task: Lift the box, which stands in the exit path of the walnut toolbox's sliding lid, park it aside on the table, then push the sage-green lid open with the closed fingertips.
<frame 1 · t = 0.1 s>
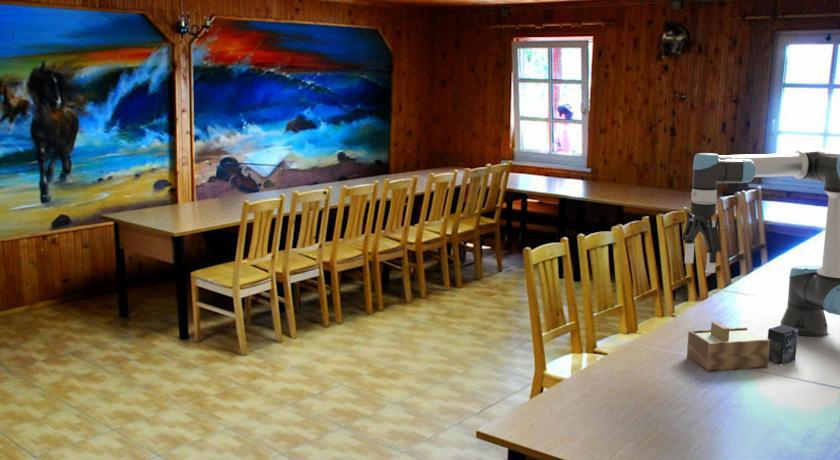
hand: (699, 267, 260), 28 cm above the table, fingers open, 13 cm apart
box: (780, 361, 256), on the table
lid: (729, 332, 252), point 10 cm above the table, slide at 0.0 cm
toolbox: (726, 362, 254), on the table
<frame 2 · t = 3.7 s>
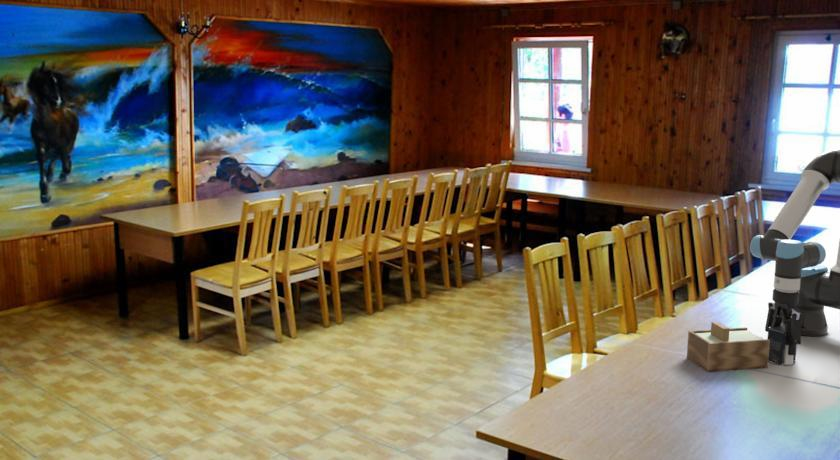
hand: (780, 359, 256), 0 cm above the table, fingers closed on box, 7 cm apart
box: (780, 361, 256), on the table, touching gripper
everything else where it was.
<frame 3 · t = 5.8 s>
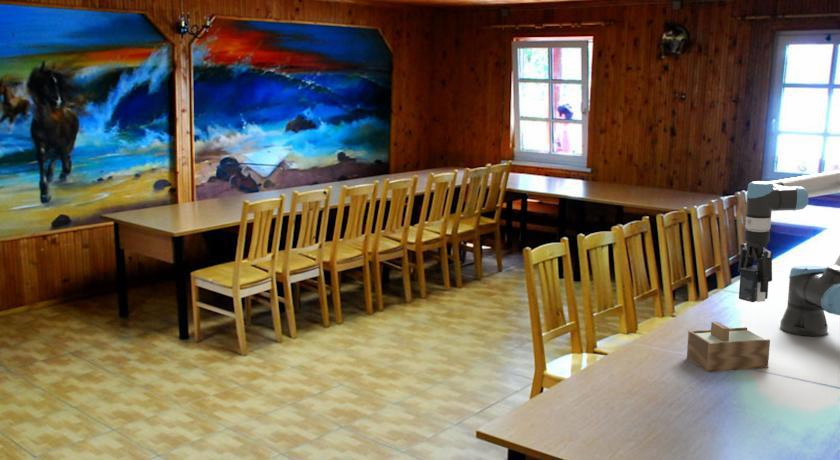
hand: (753, 298, 266), 17 cm above the table, fingers closed on box, 7 cm apart
box: (753, 299, 266), point 16 cm above the table, touching gripper
everything else where it was.
when the fingers open (2 cm above the table, at t = 8.1 s): box drops 2 cm, on the table.
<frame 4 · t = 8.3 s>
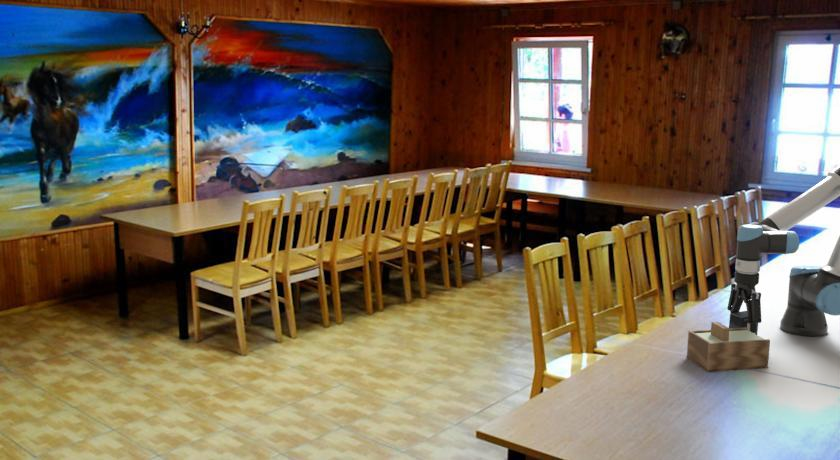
hand: (742, 336, 271), 2 cm above the table, fingers open, 9 cm apart
box: (741, 344, 272), on the table
everything else where it was.
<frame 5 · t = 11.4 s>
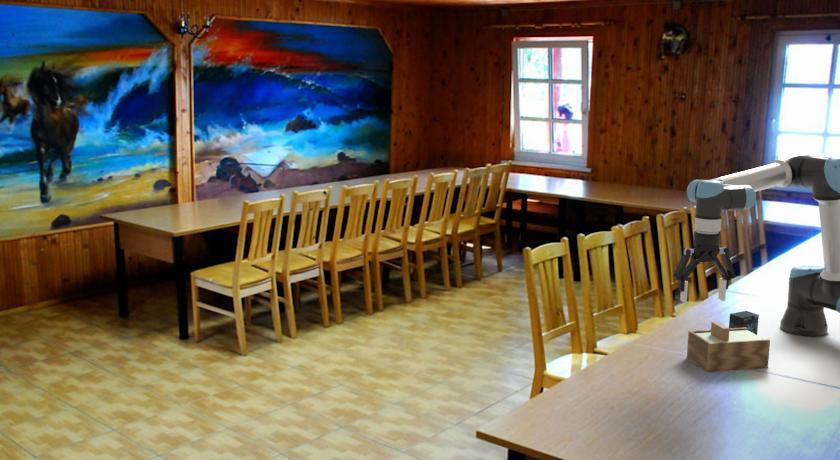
hand: (702, 300, 249), 21 cm above the table, fingers open, 12 cm apart
nothing on the table moved.
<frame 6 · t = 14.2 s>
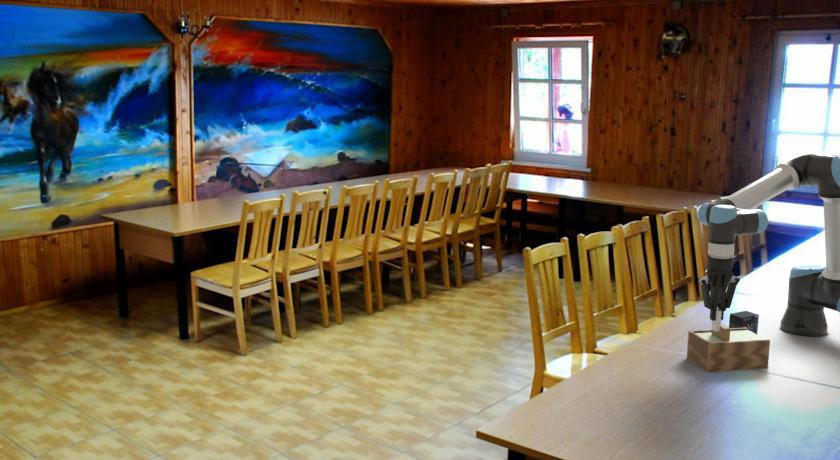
hand: (715, 330, 251), 11 cm above the table, fingers closed
lid: (730, 332, 252), point 10 cm above the table, slide at 0.3 cm, touching gripper
everything else where it was.
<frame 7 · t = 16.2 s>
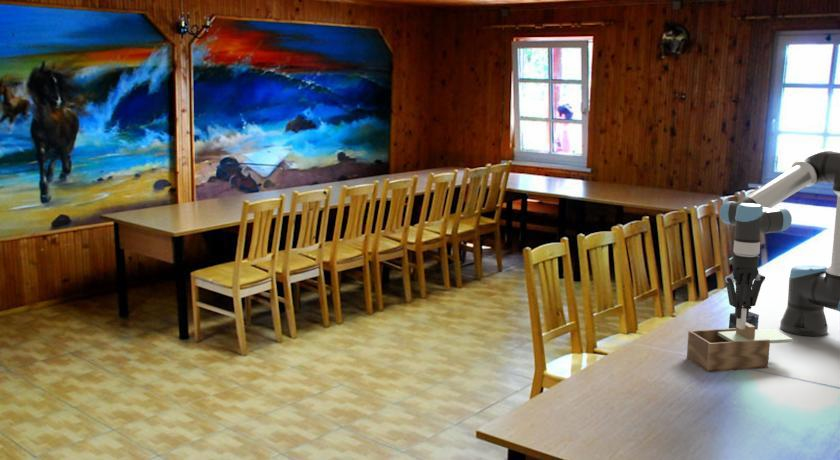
hand: (740, 327, 252), 11 cm above the table, fingers closed
lid: (755, 330, 254), point 10 cm above the table, slide at 8.7 cm, touching gripper
everything else where it was.
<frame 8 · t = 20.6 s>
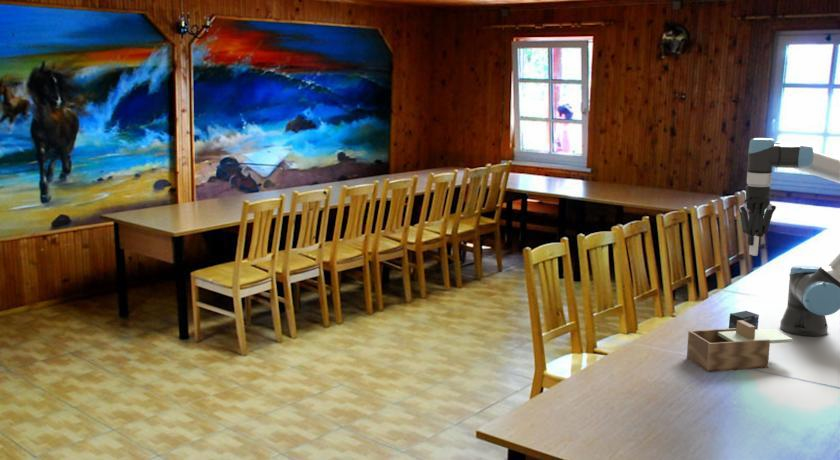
hand: (753, 254, 272), 29 cm above the table, fingers closed
lid: (755, 330, 254), point 10 cm above the table, slide at 8.7 cm
everything else where it was.
at the end: lid slide at 8.7 cm; box inside the target area (0.1 cm from its centre), on the table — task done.
